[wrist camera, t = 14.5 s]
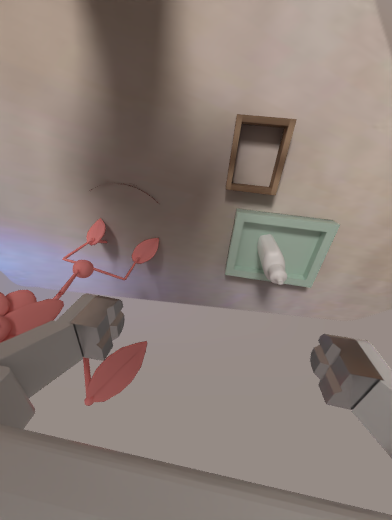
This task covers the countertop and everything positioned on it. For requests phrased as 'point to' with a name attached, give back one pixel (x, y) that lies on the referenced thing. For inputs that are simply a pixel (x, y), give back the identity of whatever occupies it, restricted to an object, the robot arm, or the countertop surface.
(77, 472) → the robot arm
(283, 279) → the eye dropper bottle
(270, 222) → the tray
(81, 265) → the red leafy plant shape
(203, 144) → the countertop surface
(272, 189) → the walnut rectangular frame
